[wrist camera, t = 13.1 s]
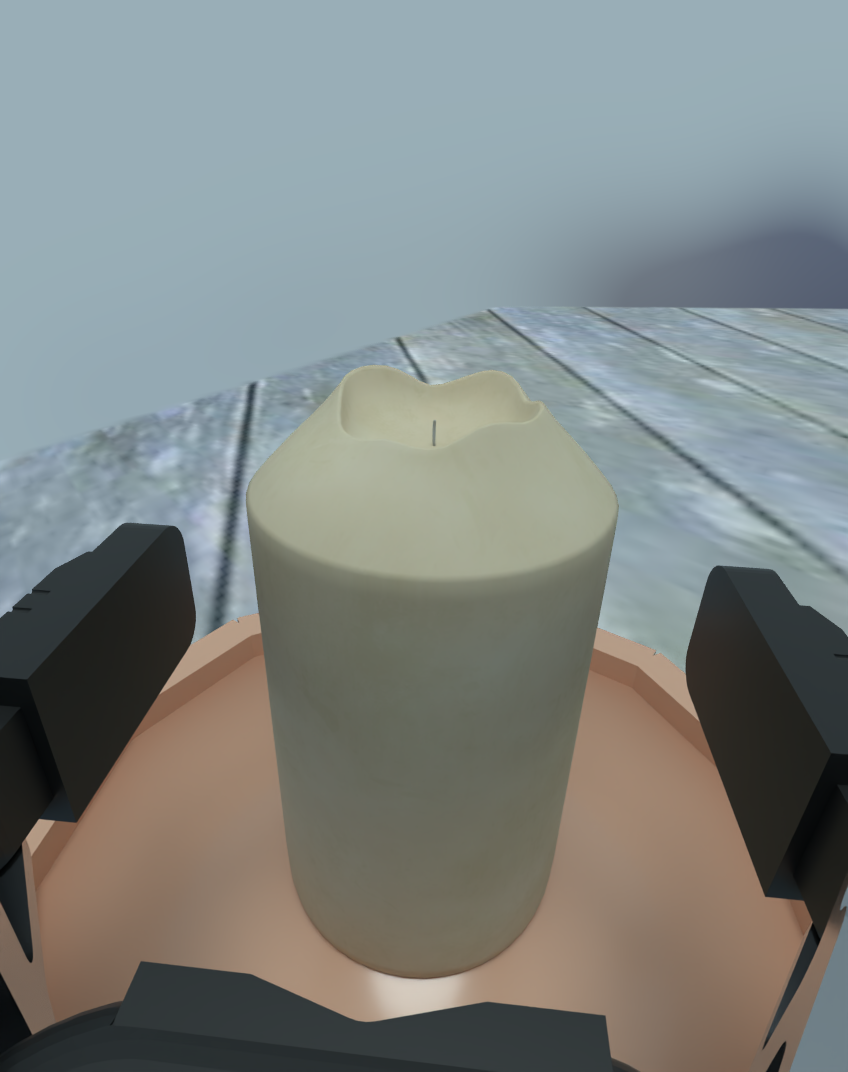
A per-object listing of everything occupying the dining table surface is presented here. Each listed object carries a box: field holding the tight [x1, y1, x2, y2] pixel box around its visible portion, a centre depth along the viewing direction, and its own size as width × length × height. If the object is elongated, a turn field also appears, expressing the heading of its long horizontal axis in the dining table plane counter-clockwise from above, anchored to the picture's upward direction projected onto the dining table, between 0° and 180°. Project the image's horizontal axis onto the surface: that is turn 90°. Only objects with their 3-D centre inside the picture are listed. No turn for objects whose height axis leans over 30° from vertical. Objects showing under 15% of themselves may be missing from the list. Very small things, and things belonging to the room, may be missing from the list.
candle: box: [246, 365, 619, 978], centre depth 12 cm, size 6×6×10 cm
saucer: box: [26, 613, 812, 1072], centre depth 14 cm, size 17×17×2 cm
